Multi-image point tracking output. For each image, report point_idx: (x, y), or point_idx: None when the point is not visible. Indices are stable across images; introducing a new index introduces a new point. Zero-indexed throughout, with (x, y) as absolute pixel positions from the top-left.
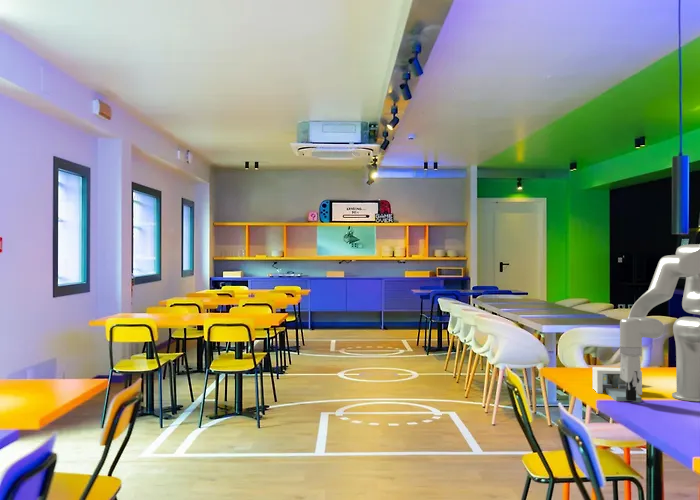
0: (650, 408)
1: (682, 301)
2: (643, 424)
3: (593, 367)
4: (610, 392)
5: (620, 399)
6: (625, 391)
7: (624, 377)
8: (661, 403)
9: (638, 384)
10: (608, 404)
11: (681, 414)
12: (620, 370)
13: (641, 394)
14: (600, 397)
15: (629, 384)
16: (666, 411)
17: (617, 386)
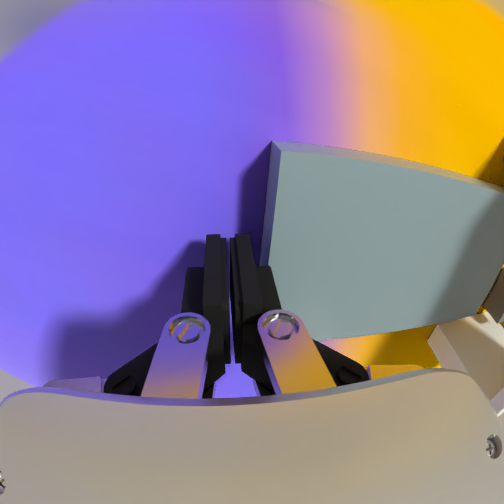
0: (88, 317)
1: None
2: None
3: None
4: (464, 180)
5: (271, 184)
6: (448, 288)
7: (122, 479)
8: (242, 384)
9: (457, 368)
10: (126, 38)
11: (47, 375)
12: (491, 493)
13: (428, 340)
14: (422, 71)
15: (147, 389)
16: (63, 355)
17: None
